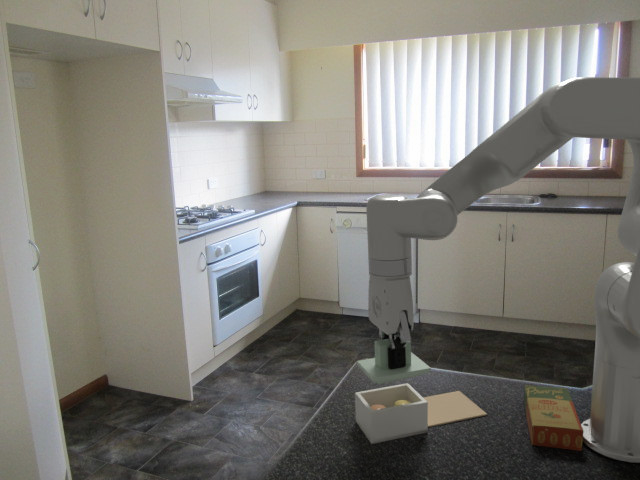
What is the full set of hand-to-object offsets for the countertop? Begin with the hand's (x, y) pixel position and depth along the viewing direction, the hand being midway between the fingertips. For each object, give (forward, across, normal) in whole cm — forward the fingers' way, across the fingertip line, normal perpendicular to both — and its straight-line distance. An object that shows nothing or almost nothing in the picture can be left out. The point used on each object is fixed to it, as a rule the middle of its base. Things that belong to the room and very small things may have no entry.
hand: (393, 363), depth 96 cm
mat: (+13, -3, +12) cm, 18 cm away
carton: (+14, +9, +27) cm, 32 cm away
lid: (+1, 0, 0) cm, 1 cm away
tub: (+13, 0, -1) cm, 13 cm away
